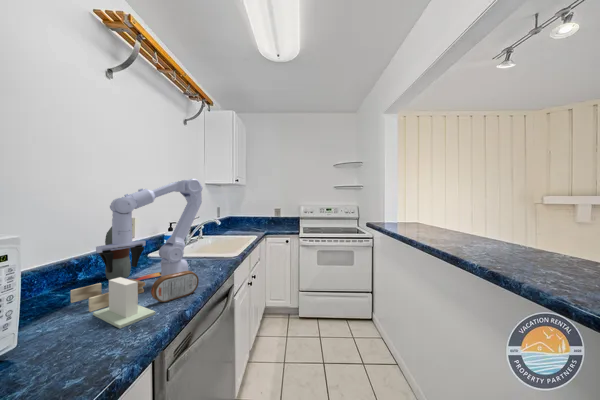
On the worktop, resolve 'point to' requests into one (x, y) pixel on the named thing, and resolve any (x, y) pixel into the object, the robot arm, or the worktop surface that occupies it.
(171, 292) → the tin
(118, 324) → the mat
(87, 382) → the worktop surface
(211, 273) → the worktop surface
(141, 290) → the offcuts
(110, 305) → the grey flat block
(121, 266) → the bottle
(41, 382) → the worktop surface
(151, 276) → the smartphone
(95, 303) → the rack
